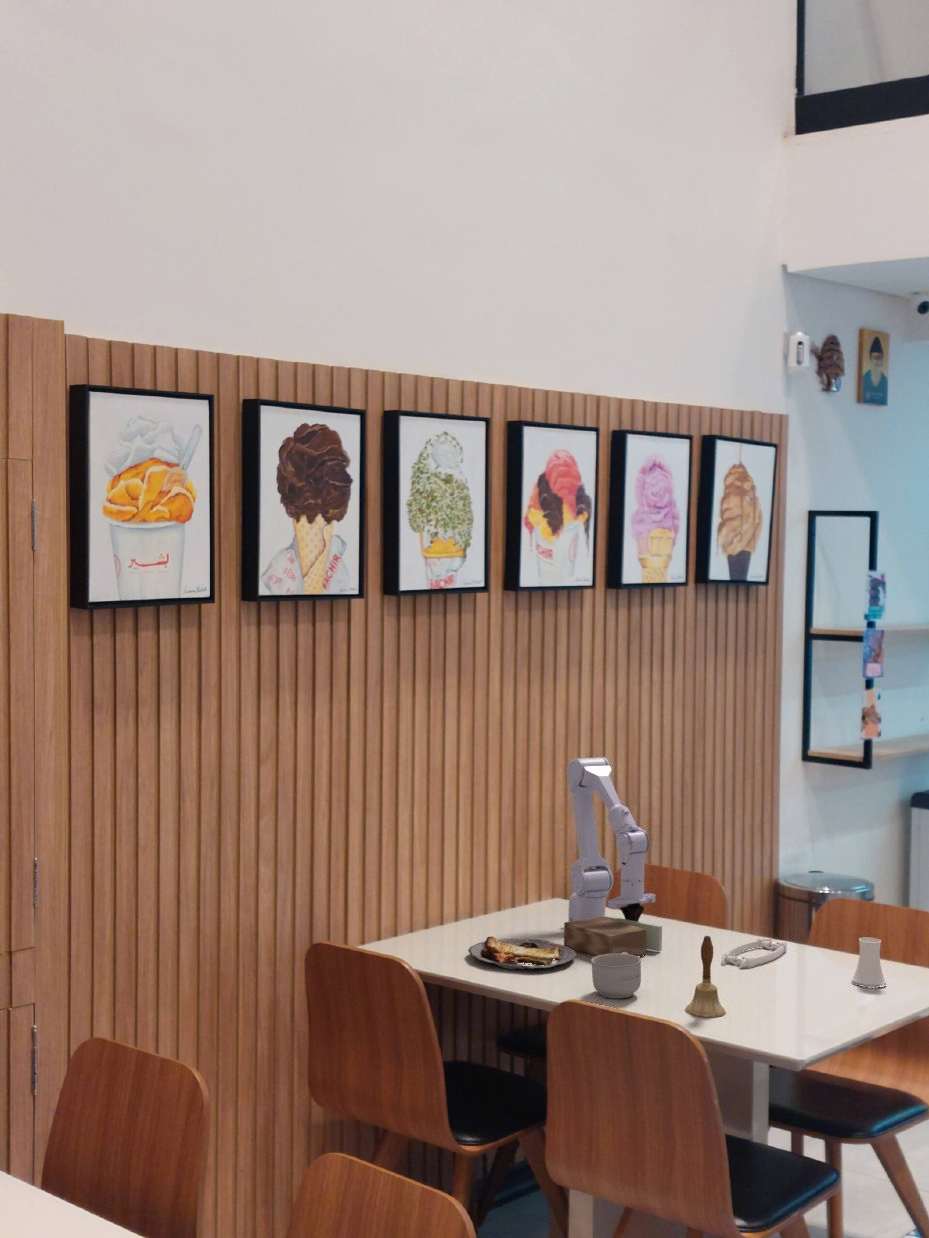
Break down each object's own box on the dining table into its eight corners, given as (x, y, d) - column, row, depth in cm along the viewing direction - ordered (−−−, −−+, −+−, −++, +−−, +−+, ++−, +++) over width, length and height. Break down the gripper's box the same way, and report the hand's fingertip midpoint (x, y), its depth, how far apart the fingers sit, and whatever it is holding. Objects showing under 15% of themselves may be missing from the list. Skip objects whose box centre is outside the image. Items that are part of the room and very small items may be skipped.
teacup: (627, 1005, 303) (628, 967, 303) (581, 996, 309) (582, 959, 309) (654, 989, 315) (655, 953, 315) (610, 981, 321) (611, 946, 321)
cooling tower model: (876, 978, 328) (878, 935, 328) (892, 987, 321) (893, 943, 320) (845, 979, 327) (847, 936, 326) (860, 988, 319) (861, 944, 319)
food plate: (456, 965, 331) (456, 950, 331) (484, 943, 353) (485, 929, 353) (561, 979, 323) (562, 964, 323) (583, 956, 346) (584, 941, 346)
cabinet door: (599, 939, 357) (600, 915, 356) (604, 937, 358) (605, 914, 358) (659, 951, 347) (659, 926, 346) (664, 949, 348) (664, 924, 348)
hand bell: (730, 1017, 296) (732, 941, 296) (690, 1017, 295) (692, 941, 295) (720, 1005, 304) (721, 931, 304) (681, 1005, 304) (683, 931, 303)
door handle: (796, 952, 352) (750, 972, 332) (759, 945, 358) (712, 965, 338) (796, 941, 352) (750, 961, 332) (759, 934, 358) (712, 953, 338)
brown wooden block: (563, 948, 349) (564, 922, 349) (600, 941, 356) (600, 916, 356) (608, 963, 336) (609, 936, 336) (645, 955, 344) (646, 929, 343)
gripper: (622, 885, 346) (621, 941, 346) (664, 879, 355) (663, 933, 355) (602, 880, 352) (601, 935, 352) (644, 874, 361) (643, 928, 361)
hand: (631, 934), depth 354 cm, fingers closed
